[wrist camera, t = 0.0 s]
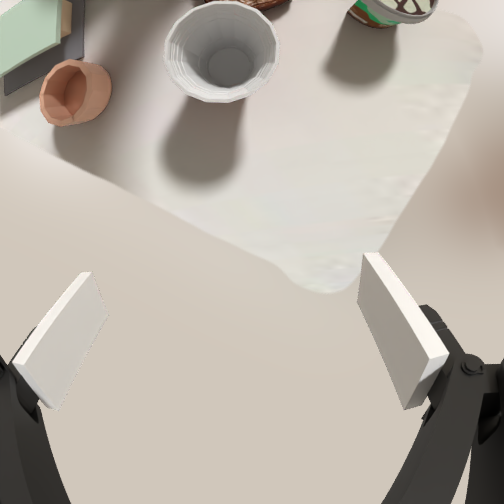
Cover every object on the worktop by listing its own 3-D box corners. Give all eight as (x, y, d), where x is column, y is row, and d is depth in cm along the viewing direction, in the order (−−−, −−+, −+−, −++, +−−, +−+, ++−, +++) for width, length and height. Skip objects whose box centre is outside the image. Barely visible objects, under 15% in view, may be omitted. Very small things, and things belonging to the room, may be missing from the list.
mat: (8, 21, 23) (-9, 19, 18) (86, -23, 22) (71, -33, 18) (6, 95, 30) (-12, 97, 26) (84, 56, 30) (66, 53, 25)
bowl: (61, 75, 30) (38, 73, 25) (110, 56, 30) (90, 50, 25) (66, 128, 34) (43, 133, 29) (115, 113, 34) (95, 115, 29)
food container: (367, 49, 30) (400, 35, 21) (339, 16, 28) (364, -9, 19) (420, 19, 26) (457, 4, 17) (395, -13, 24) (427, -34, 15)
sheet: (-6, 25, 19) (-11, 24, 18) (64, -21, 19) (60, -23, 18) (-10, 84, 25) (-14, 84, 24) (60, 43, 24) (55, 42, 23)
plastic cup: (214, 121, 35) (198, 124, 25) (174, 58, 31) (142, 39, 20) (287, 82, 33) (303, 69, 22) (245, 18, 29) (243, -17, 18)
